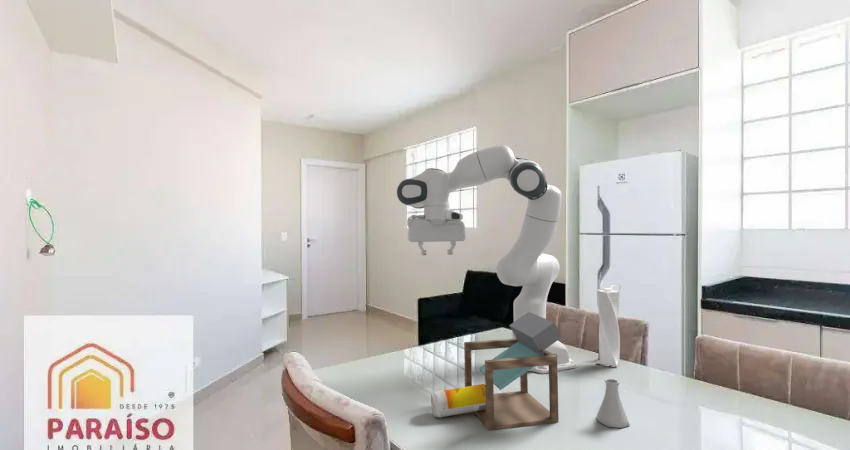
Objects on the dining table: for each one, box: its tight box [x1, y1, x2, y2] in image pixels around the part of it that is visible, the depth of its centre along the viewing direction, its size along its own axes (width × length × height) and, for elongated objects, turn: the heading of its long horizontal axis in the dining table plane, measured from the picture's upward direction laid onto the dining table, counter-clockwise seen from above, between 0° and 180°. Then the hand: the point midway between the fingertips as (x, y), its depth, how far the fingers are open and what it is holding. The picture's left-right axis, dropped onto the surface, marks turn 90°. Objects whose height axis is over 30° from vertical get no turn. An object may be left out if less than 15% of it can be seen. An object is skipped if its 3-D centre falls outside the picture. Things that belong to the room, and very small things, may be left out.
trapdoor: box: [479, 312, 563, 391], centre depth 107 cm, size 20×14×6 cm
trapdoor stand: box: [463, 338, 559, 431], centre depth 107 cm, size 18×18×16 cm
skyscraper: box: [595, 283, 622, 367], centre depth 142 cm, size 8×8×28 cm
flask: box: [596, 378, 631, 429], centre depth 99 cm, size 7×7×10 cm
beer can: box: [430, 383, 486, 418], centre depth 104 cm, size 6×6×15 cm
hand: (437, 254), depth 141 cm, fingers open, 8 cm apart
